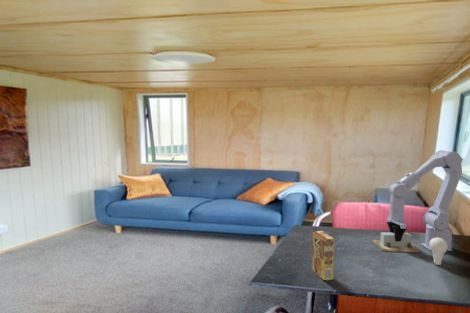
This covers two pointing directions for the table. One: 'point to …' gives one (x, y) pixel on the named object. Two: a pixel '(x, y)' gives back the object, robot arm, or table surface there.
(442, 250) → the lightbulb
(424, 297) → the table surface
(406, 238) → the light grey block
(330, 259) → the candy box
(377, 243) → the jig
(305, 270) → the table surface
